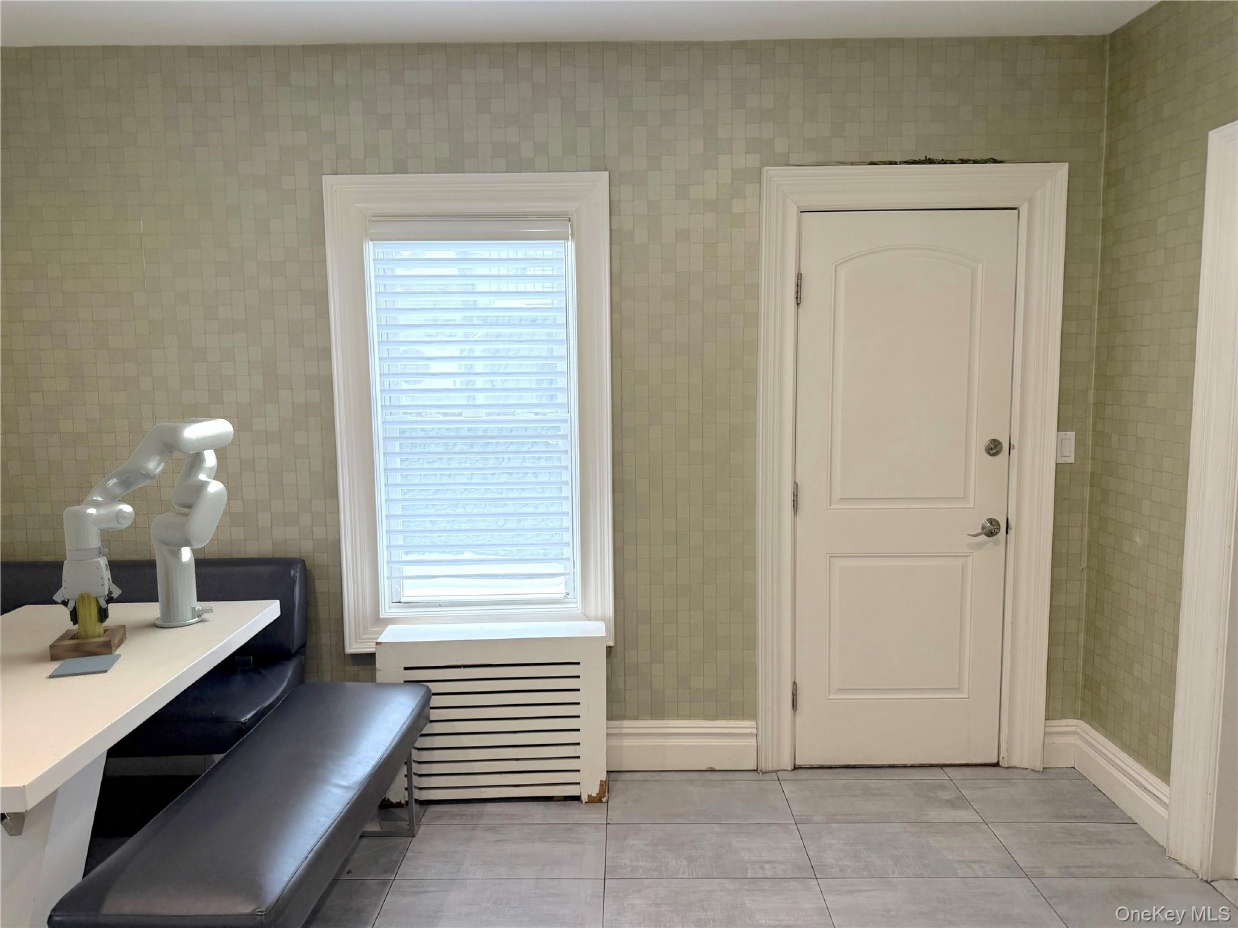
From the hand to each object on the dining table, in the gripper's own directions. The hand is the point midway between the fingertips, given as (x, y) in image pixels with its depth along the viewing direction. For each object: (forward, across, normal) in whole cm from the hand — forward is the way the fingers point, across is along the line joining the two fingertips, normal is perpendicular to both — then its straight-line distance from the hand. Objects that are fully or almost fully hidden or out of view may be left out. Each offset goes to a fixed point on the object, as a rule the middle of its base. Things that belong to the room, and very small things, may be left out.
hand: (90, 621), depth 211 cm
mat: (+7, -2, +14) cm, 16 cm away
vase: (+6, 0, 0) cm, 6 cm away
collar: (+7, 0, 0) cm, 7 cm away
